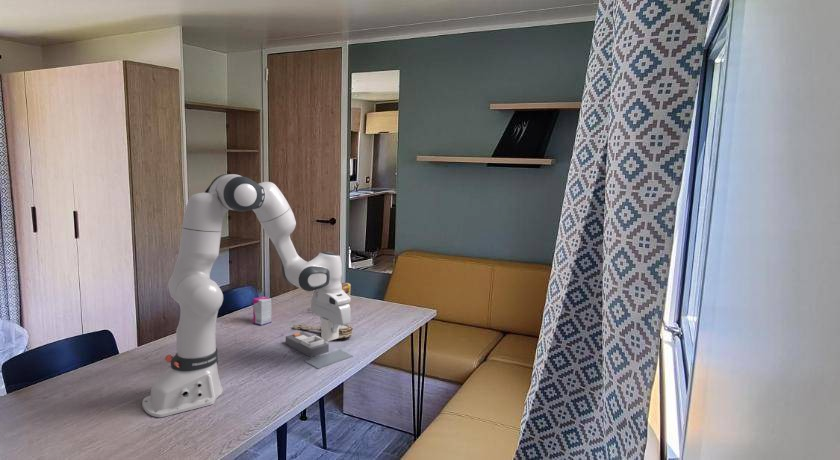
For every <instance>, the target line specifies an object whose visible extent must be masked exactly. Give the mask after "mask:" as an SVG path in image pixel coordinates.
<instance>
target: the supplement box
mask: <svg viewBox="0 0 840 460" xmlns="http://www.w3.org/2000/svg"><path fill="white" fill-rule="evenodd" d="M252 301H253V302H252V306H253V307H252V310H253V311H252V313H253V316H252V317H253V321H252V322H253V324H254V325H258V326H260V327H263V326H265V325H268V324H271V323H272V298H271V297H267V296H259V297H256V298H255V297H254V298H253V300H252Z"/></svg>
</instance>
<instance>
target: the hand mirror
mask: <svg viewBox="0 0 840 460" xmlns="http://www.w3.org/2000/svg"><path fill="white" fill-rule="evenodd" d="M292 329H294V330H301V329H302V330H307V331H308V330H309V331H310V330H312V331H316V332H321V326H310V325H301V324H294V325H292ZM353 334H354V328H353V327H352V326H351V325H350V324H347V325H344V326H341V325H339V338H338V339H344V338H349V337H352V336H353Z"/></svg>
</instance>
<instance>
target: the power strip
mask: <svg viewBox="0 0 840 460" xmlns="http://www.w3.org/2000/svg"><path fill="white" fill-rule="evenodd" d="M285 344H286V345H287V346H289V347H291V348H294V349H295V350H297V351H299V352H301V353H302V354H304V355H306V356H308V357H309V358H315V357H318V356H321V355H324V354H327V353H330V352H329V351H330V349H329V347H330V344H329V343H326V340H324V339H321V337H320V336H318V335H316V334H315V335H313V336H312V335H311V334H308V333H306V332H304V331H300V332H296V333H293V334H290V335H287V336H285Z"/></svg>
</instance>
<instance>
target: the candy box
mask: <svg viewBox="0 0 840 460" xmlns="http://www.w3.org/2000/svg"><path fill="white" fill-rule="evenodd" d="M341 284H342V290H343V291H344V292H345V293H346V294H347V295H348V296H349V297H350V298H351V290H352V289H351V286H352V285H351V283H350V282H343V283H342V282H341ZM349 305H350V306H351V302H350V303H349Z"/></svg>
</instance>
